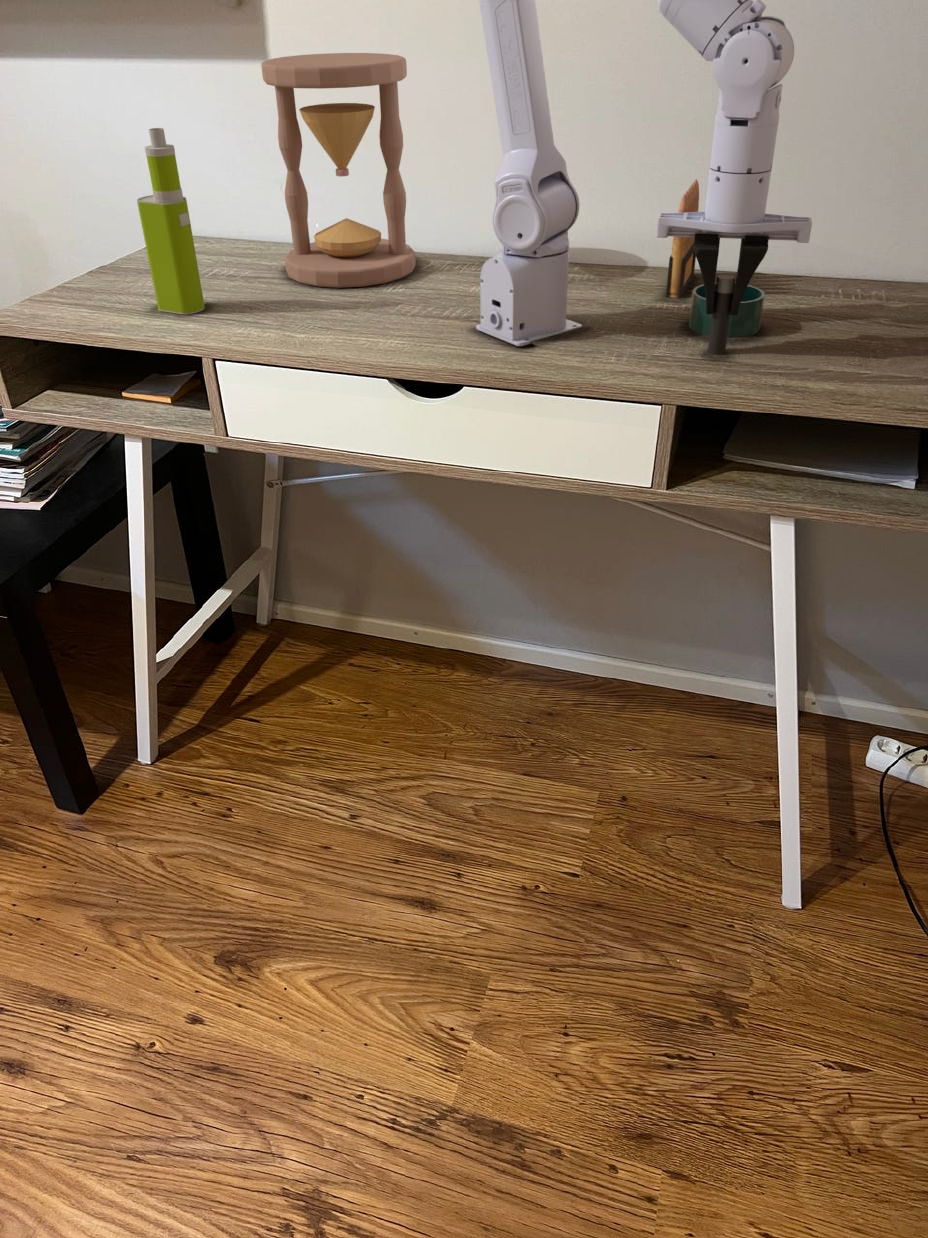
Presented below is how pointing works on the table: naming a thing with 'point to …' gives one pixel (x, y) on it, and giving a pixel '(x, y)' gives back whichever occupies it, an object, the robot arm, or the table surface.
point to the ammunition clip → (683, 249)
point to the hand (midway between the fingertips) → (721, 311)
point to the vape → (169, 233)
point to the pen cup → (738, 324)
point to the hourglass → (342, 167)
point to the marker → (721, 314)
